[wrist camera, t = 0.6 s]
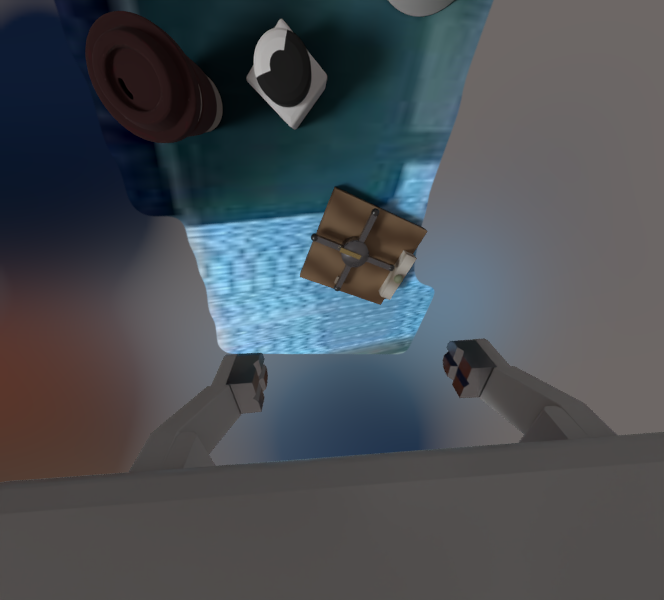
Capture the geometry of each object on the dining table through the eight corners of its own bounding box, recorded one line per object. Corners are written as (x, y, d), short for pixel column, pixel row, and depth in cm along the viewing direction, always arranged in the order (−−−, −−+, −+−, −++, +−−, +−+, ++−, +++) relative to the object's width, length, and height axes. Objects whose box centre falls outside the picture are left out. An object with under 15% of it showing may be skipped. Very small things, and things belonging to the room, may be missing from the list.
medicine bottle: (326, 87, 35) (330, 65, 25) (295, 130, 38) (288, 126, 28) (287, 38, 33) (274, -8, 22) (256, 89, 35) (232, 68, 25)
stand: (334, 186, 43) (336, 191, 38) (423, 227, 48) (434, 236, 43) (300, 272, 51) (299, 285, 47) (378, 299, 56) (384, 313, 52)
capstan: (329, 184, 41) (330, 188, 38) (415, 224, 45) (421, 230, 42) (296, 271, 49) (295, 279, 46) (371, 297, 53) (374, 306, 50)
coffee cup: (232, 67, 34) (183, 22, 21) (233, 149, 39) (193, 153, 26) (154, 45, 32) (51, -18, 20) (166, 133, 37) (89, 129, 25)
